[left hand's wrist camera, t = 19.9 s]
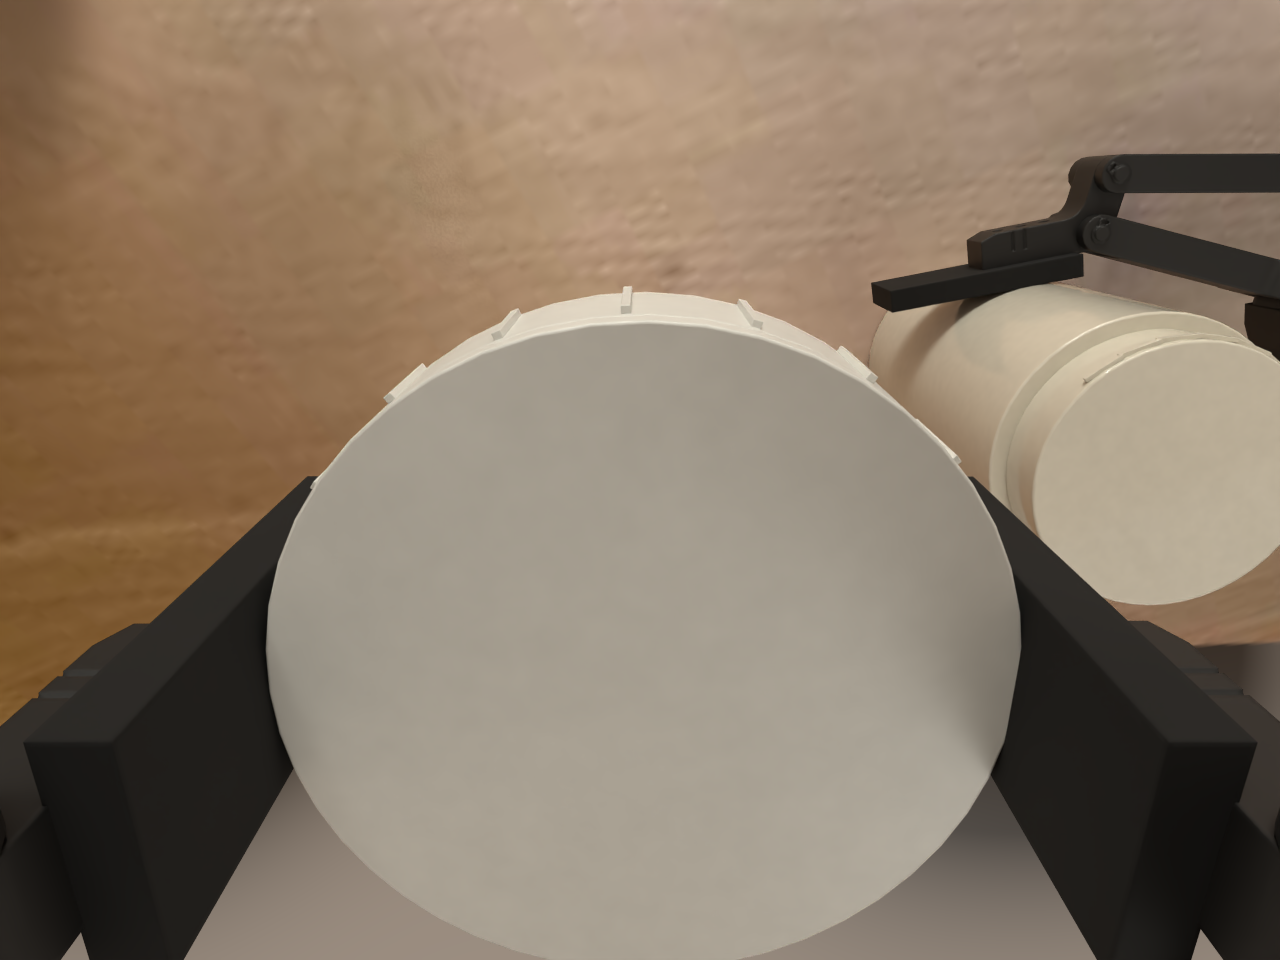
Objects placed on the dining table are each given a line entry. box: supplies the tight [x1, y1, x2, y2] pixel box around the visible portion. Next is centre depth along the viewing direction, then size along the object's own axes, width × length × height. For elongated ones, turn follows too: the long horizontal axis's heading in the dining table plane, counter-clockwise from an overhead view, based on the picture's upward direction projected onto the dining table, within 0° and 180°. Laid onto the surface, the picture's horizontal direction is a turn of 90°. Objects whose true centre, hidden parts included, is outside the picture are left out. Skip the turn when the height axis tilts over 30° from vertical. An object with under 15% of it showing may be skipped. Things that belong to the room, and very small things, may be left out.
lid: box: [266, 286, 1021, 960], centre depth 11 cm, size 9×9×2 cm
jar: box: [869, 282, 1280, 605], centre depth 30 cm, size 8×8×16 cm
